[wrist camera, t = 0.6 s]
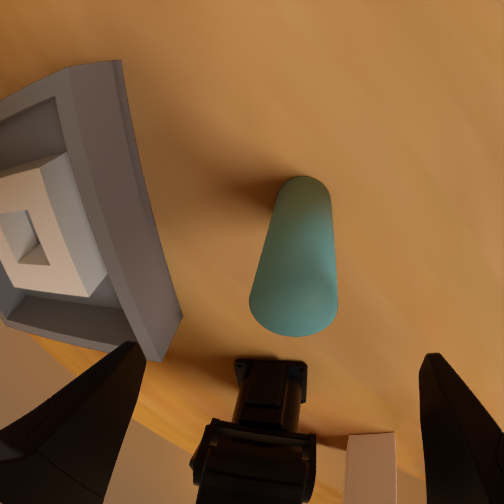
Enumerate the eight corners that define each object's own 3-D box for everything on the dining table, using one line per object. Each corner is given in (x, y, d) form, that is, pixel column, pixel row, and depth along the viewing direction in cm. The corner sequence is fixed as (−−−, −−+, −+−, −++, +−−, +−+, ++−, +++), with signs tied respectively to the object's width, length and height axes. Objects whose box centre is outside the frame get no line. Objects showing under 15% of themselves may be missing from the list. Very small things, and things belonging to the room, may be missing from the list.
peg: (330, 225, 19) (334, 337, 12) (278, 225, 20) (253, 334, 13) (330, 176, 18) (340, 271, 10) (274, 176, 18) (244, 270, 11)
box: (182, 316, 26) (161, 362, 22) (30, 297, 30) (6, 326, 26) (120, 59, 16) (67, 66, 11) (-34, 130, 20) (-72, 150, 15)
